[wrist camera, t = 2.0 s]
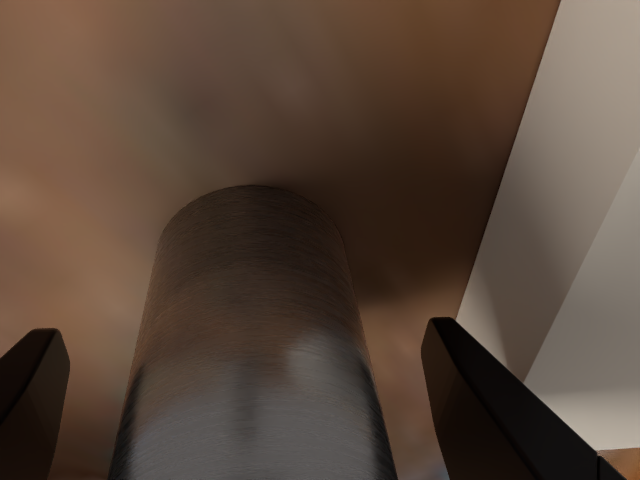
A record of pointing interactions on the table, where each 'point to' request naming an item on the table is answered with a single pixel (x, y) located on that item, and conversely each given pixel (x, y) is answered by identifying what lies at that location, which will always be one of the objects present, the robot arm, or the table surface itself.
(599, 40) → the block
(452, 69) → the table surface
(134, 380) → the grey metal cylinder
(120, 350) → the table surface
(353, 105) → the table surface
